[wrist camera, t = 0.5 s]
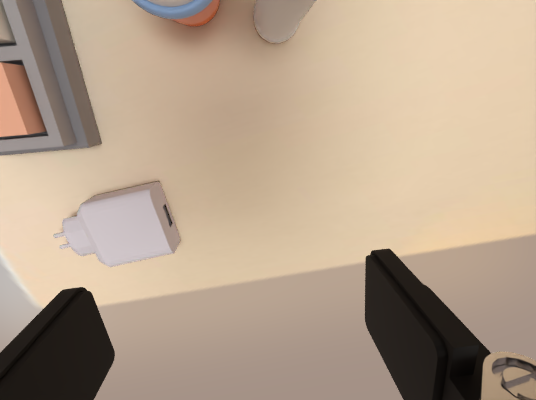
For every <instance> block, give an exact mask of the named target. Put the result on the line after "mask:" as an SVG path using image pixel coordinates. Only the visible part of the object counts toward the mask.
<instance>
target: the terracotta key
mask: <svg viewBox="0 0 536 400" xmlns="http://www.w3.org/2000/svg"><path fill="white" fill-rule="evenodd" d="M46 131H47V130H46V127H45V124H44V121H43V119H42V116H41V113H40V110H39V107H38V104H37V101H36V98H35V95H34V92H33V90H32V87H31V84H30V81H29V78H28V75H27V72H26V69H25V66H23V65H15V64H8V63H0V137H5V136H16V135H27V134H34V133H40V132H46Z"/></svg>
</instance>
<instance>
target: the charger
mask: <svg viewBox="0 0 536 400" xmlns="http://www.w3.org/2000/svg"><path fill="white" fill-rule="evenodd" d="M165 204H166V207H167V209H168V212H169V215H170V218H171V220H172V223H173V224H171V222H170V219H169V216H168V214H167V211H166V208H165V206H164V205H165ZM62 224H63V231H64V232H62V233H57V234H54V235H53V236H54V237H55V238H57V237H62V236H65V237H66V239H67V241H68V244H64V245H60V249H63V248H68V247H71V248H72V250H73V251H75V252H76V253H77V254H78V255H79V256H85V255H90V254H94V253H95V254H96V256H97V258H98V260H99V261H100V262H101V263H103V264H105V265H107V266H109V267H113V266H118V265H122V264H127V263H132V262H136V261H141V260H145V259H150V258H154V257H159V256H163V255H168V254H172V253H175V251H176V249H177V247H178V245H179V243H180V236H179V233H178V230H177V227H176V224H175V222H174V219H173V216H172V214H171V211H170V208H169V205H168V203H167V200H166V197H165V194H164V192H163V189H162V186H161V184H160V182H159V181H157V182H153V183H149V184H144V185H140V186H135V187H131V188H126V189H122V190H117V191H113V192H109V193H104V194H100V195H95V196H93V197H91V198H90V199H88V200H87V201H85V202H83V203H82V204H81V205H80V207H79V210H78V212H77V216H74V217H70V218H65V219H63V222H62Z"/></svg>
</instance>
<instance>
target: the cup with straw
mask: <svg viewBox="0 0 536 400" xmlns="http://www.w3.org/2000/svg"><path fill="white" fill-rule="evenodd" d="M132 1H133V2H135V3H136V4H137V5H138V6H139V7H141V8H142V9H144V10H145V11H147V12H149V13H151V14H153V15H156V16H159V17H162V18H166V19H172V20H174V21H176V22H178V23H182V24H185V25H189V26H200V25H203V24H205V23H207V22H209V21H210V20H211V19H212V18H213V17H214V15H215V14H216V12H217V10H218V7H219V3H220V0H132Z"/></svg>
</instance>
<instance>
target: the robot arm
mask: <svg viewBox="0 0 536 400" xmlns="http://www.w3.org/2000/svg"><path fill="white" fill-rule="evenodd" d="M365 279H366V280H365V322H366V326H367V329H368V331H369V333H370V335H371V336H372V339H373V340H374V343H375V345H376V346H377V348H378V350H379V352H380V354H381V356H382V358H383V360H384V362H385V364H386V366H387V368H388V370H389V372H390V374H391V376H392V378H393V380H394V382H395V384H396V385H397V388H398V390H399V392H400V394H401V395H402V398H403V399H404V400H536V361H535V360H533V359H531V358H528V357H525V356H523V355H520V354H516V353H512V352H496V353H490V352H489V350H487V348H486V347H485V346H484V345H483V344H482V343H481V342H480V341H479V340H478V339H477V338H476V337H475V336H474V335H473V334H472V333H471V332H470V330H469V329H468V328H467V327H466V326H465V325H464V324H463V323H462V322H461V321H460V320H459V319H458V318H457V317H456V316H455V315H454V313H453V312H452V311H451V310H450V309H449V308H448V307H447V306H446V305H445V304H444V303H443V302H442V301H441V300H440V299H439V298H438V297H437V296H436V295H435V293H434V292H433V291H432V290H431V289H430V288H428V287H427V286H426V285H423V284H422V283H421V282H420V281H419V280H418V278H417V277H416V276H415V275H414V274H413V273H412V272H411V271H410V270H409V269H408V268H407V267H406V266H405V264H404V263H403V262H402V261H401V260H400V259H399V258H398V257H397V256H396V255H395V254H394V253H393V252H392V251H391V250H390V249H382V250H374V251H371V254H370V255H368V256H366V278H365ZM114 356H115V353H114V349H113V346H112V344H111V341H110V339H109V336H108V334H107V331H106V328H105V326H104V323H103V321H102V318H101V316H100V313H99V311H98V308H97V305H96V303H95V300H94V298H93V295H92V293H91V292H90V291H87V290H86V289H85V288H83V287H79V288H71V289H65V290H62V291H61V292H60V293H59V294H58V295H57V296H56V297H55V298H54V299H53V300H52V301H51V302H50V303H49V304H48V305H47V306H46V307H45V308H44V309H43V310H42V311H41V312H40V313H39V314H38V315H37V316H36V317H35V318H34V319H33V320H32V321H31V322H30V323H29V324H28V325H27V326H26V327H25V328H24V329H23V330H22V331H21V332H20V333H19V335H17V336H16V337H15V338H14V339H13V340H12V341H11V342H10V344H9V345H7V346H6V347H5V349H4V350H3V351H2V352H1V353H0V400H94V398H95V396H96V394H97V392H98V390H99V388H100V386H101V385H102V383H103V381H104V379H105V377H106V375H107V373H108V371H109V369H110V367H111V365H112V363H113V361H114Z"/></svg>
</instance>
